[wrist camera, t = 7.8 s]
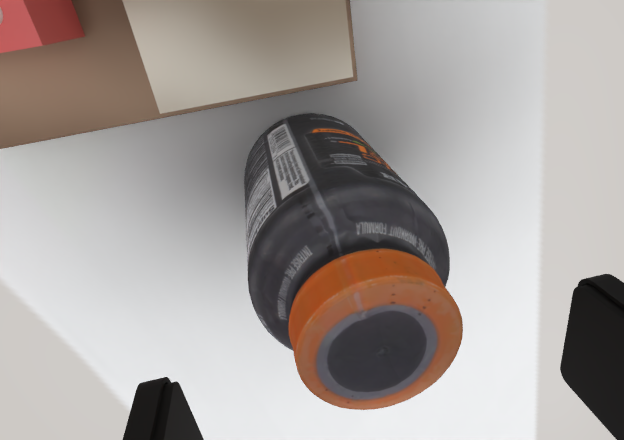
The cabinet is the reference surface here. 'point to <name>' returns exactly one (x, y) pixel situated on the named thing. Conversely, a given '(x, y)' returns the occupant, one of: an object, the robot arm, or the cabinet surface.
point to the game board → (171, 62)
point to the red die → (37, 23)
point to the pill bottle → (347, 265)
